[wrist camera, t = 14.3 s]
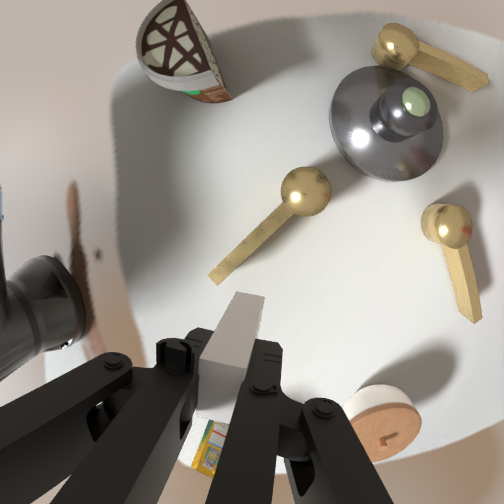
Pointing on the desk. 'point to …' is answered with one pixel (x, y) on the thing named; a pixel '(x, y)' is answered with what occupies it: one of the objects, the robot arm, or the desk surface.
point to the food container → (180, 53)
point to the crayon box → (210, 448)
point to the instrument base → (365, 136)
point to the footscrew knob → (280, 215)
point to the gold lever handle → (455, 252)
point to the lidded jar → (382, 420)
